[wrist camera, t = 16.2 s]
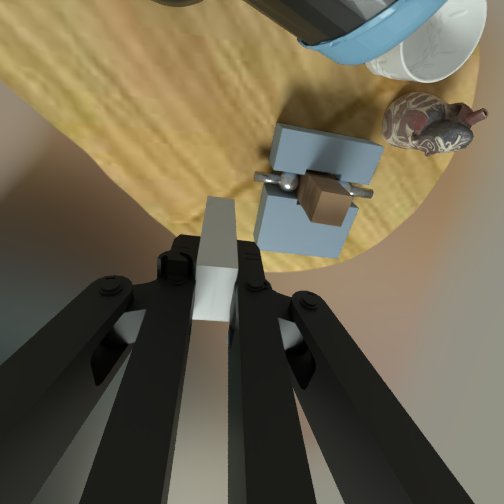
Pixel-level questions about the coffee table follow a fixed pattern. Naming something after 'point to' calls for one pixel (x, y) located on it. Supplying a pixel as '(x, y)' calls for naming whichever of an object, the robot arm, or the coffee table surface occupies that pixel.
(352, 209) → the socket board
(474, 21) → the white cup
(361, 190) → the plunger
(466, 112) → the figurine
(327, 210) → the peg
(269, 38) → the coffee table surface
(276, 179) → the plunger
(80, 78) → the coffee table surface
